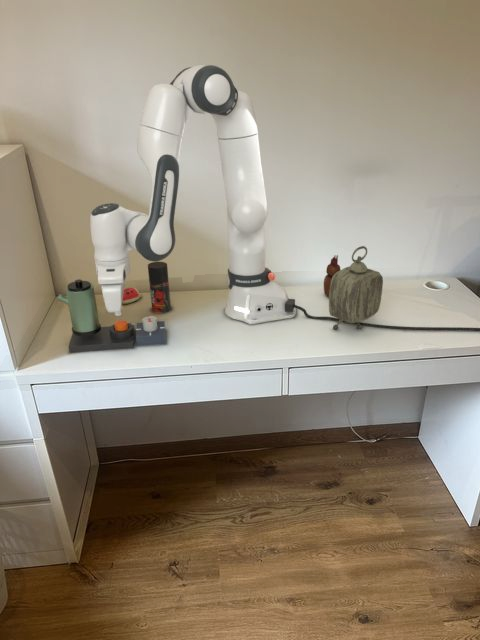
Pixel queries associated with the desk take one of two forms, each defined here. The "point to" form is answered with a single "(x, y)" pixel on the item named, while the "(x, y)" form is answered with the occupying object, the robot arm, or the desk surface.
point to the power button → (121, 325)
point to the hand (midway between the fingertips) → (118, 313)
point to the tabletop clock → (355, 292)
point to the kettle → (82, 308)
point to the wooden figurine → (330, 274)
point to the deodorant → (159, 287)
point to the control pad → (150, 335)
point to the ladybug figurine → (130, 295)
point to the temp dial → (149, 323)
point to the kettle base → (103, 340)
